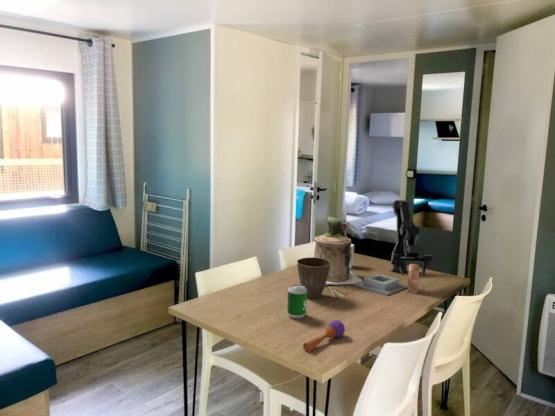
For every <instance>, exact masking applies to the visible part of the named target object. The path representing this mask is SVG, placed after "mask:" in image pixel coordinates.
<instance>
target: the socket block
mask: <svg viewBox="0 0 555 416" xmlns="http://www.w3.org/2000/svg"><path fill="white" fill-rule="evenodd" d="M354 287H356V288H359V289H361V290H362V289H363V290H365V291H369V292H372V293H376V294H379V295H383V296H390V295H392V294H395V293H397V292H400V291H402V290H405V289H408V284H404V283H403V284H402V283H400V278H395V277H392V276H388V275H385V274H380V273H377V274H376V273H375V274H373V275H370V276H366V277H364V278H363V280H362V282H360V283H357V284H354Z"/></svg>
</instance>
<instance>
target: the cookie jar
mask: <svg viewBox="0 0 555 416" xmlns="http://www.w3.org/2000/svg"><path fill="white" fill-rule="evenodd" d="M326 219H327V226H328V231H327V232H324V234H322V235H316V236H315V237H314V239H313V240H314V242H315V246H314V251H313V254H314V255H313V258H322V259H326V260H328V261H330V263H331V264H330V269H329V274H328V278H327V281H326V284H325V286H328V285H330V286H331V285H332V286H339V285H340V286H343V285H355V284H357V283H360V282H363V279H362V278H360V277H359V276H357V275H356V274H355V273H353V272H352V271H351V269H349V263H350V260H351V257H352V255H351V244H353V242H352V239H351V238H349V237H348V236H346V234H345V232H344V231H347V227H348V224H347V223H345V222H342V221H341V219H340V218H338V217H333V216H331V215H327V218H326Z"/></svg>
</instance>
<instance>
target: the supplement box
mask: <svg viewBox="0 0 555 416" xmlns="http://www.w3.org/2000/svg"><path fill="white" fill-rule="evenodd" d="M354 252H355V244H353V243H352V244H351V255H352V257H351V260H350V263H349V269H350V270H351V268H353V267H354V254H355V253H354Z"/></svg>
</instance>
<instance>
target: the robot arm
mask: <svg viewBox="0 0 555 416" xmlns="http://www.w3.org/2000/svg"><path fill="white" fill-rule="evenodd" d="M410 208H411V203H410V202H409V201H408V200H399V199H394V201H392V210H393V213H394V215H395V217H396V243H395V246H394V247H393V250H392V253H391V258H390V265H392V266H393V267H392V269H391V272H394V273H398V274H401V275H402V277H403V276H405V273H407V272H408V273H409V269H408V264H407V263H409V262H411V263H421V272H422V277H424V276H425V275H426V271H427V268H429V266H432V263H433V262H434V257H433V255H430V254H424V255H423V256H422V257H419V256H420V253H423V252H424V245H423V244H418V245H417V244H416V243H417V240H418V238H419V235H420V232H421V231H420V229H419V228H418V226H416V224H415V222H414V221H412V218H411V217H412V216H411V211H410V210H411V209H410Z"/></svg>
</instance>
